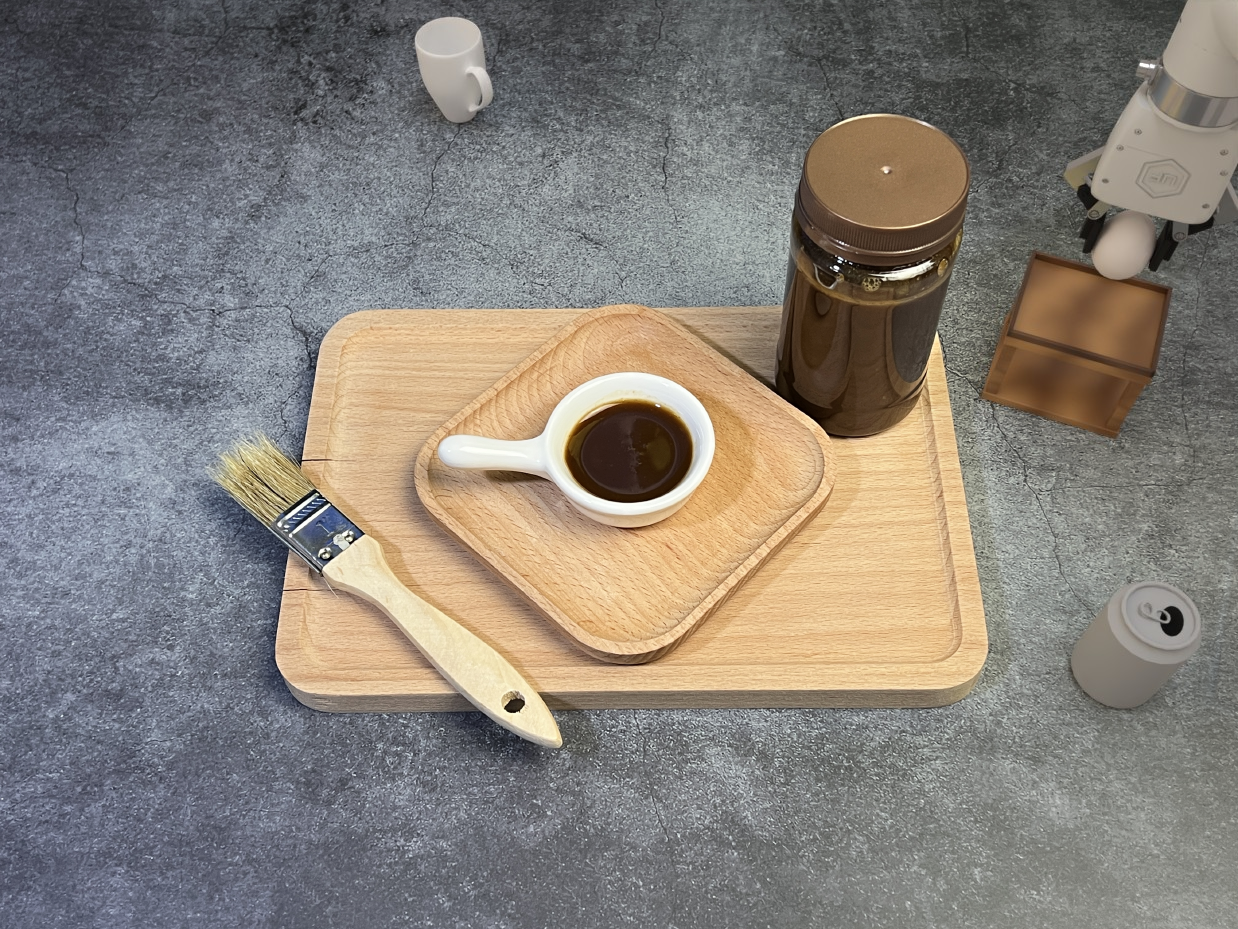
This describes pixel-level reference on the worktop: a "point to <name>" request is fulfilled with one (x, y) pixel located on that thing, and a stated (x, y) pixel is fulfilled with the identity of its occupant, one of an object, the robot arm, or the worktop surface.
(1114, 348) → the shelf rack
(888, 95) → the worktop surface
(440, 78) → the mug
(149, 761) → the worktop surface
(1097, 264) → the egg
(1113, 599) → the can
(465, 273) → the worktop surface
